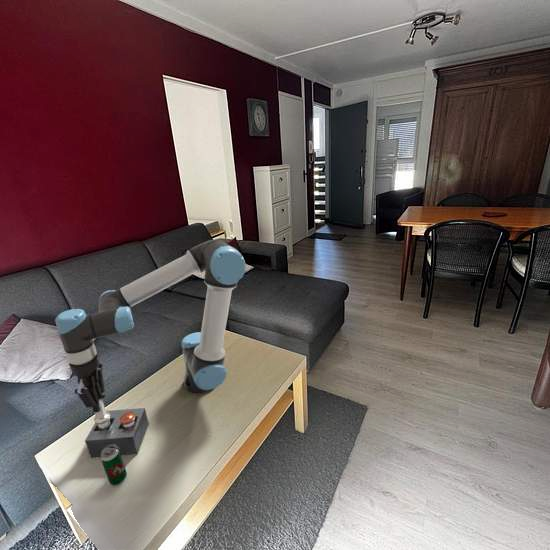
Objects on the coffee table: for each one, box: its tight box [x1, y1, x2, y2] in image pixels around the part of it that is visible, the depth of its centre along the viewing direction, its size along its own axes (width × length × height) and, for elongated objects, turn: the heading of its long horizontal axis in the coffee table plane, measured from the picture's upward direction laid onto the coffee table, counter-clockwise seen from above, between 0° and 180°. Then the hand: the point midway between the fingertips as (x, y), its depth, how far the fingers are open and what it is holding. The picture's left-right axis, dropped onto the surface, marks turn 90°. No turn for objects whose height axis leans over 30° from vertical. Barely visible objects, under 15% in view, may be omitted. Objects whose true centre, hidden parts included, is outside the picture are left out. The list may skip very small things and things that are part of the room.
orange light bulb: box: [120, 412, 135, 429], centre depth 104 cm, size 5×5×8 cm
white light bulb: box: [93, 410, 111, 431], centre depth 103 cm, size 5×5×8 cm
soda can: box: [99, 444, 128, 486], centre depth 91 cm, size 5×5×12 cm
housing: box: [84, 407, 150, 459], centre depth 104 cm, size 15×12×8 cm
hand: (101, 416), depth 101 cm, fingers closed
